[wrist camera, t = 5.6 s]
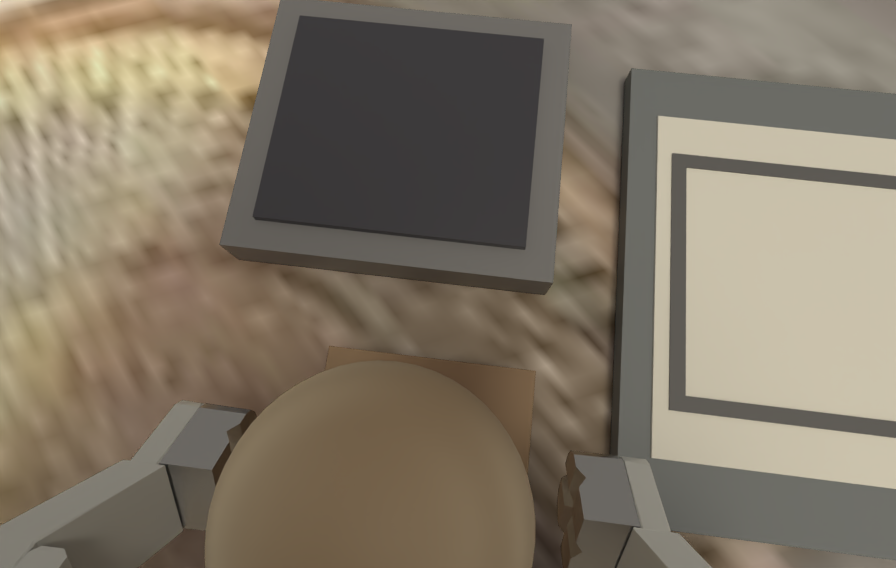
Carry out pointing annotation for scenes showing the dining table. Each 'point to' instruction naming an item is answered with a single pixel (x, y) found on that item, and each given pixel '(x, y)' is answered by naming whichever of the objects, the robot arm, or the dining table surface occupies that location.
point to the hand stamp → (382, 470)
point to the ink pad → (405, 146)
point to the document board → (760, 308)
